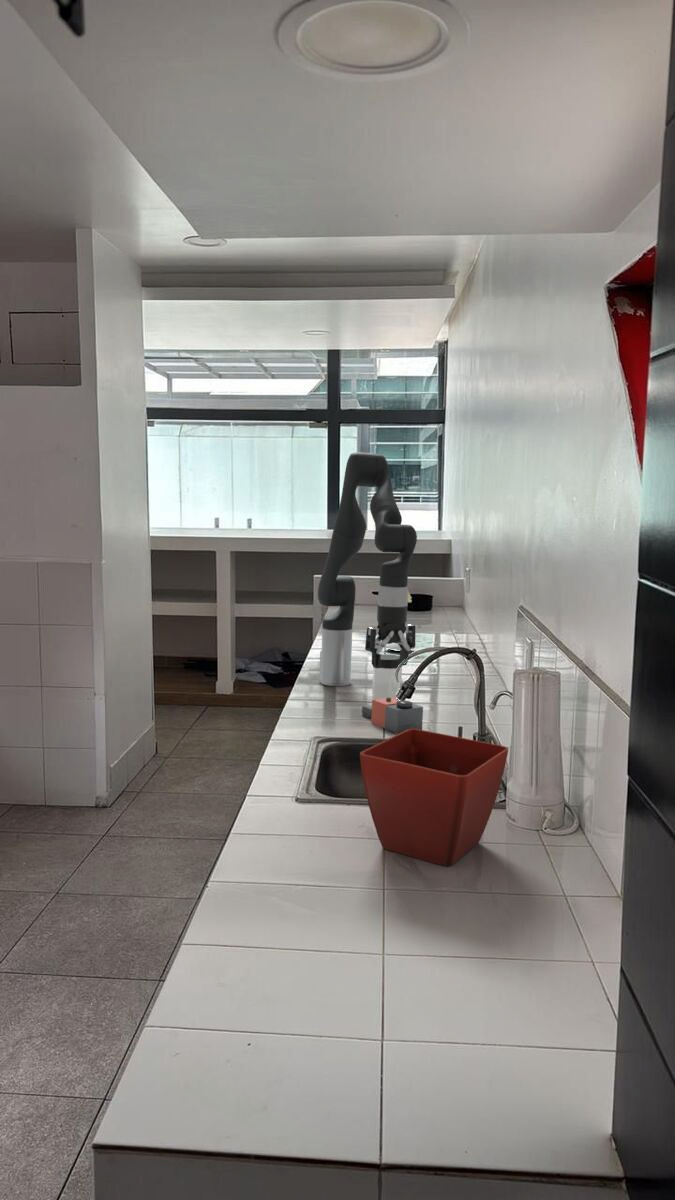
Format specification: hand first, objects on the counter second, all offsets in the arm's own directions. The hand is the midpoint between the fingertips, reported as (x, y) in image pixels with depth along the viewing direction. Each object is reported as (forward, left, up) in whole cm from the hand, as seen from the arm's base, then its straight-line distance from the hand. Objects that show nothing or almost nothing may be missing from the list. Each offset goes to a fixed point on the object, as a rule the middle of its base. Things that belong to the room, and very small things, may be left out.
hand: (389, 666), depth 223 cm
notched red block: (0, 0, -15) cm, 15 cm away
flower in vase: (-81, +67, -15) cm, 106 cm away
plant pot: (+66, -41, -15) cm, 79 cm away
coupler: (0, 0, -15) cm, 15 cm away
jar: (-23, +17, -15) cm, 32 cm away
